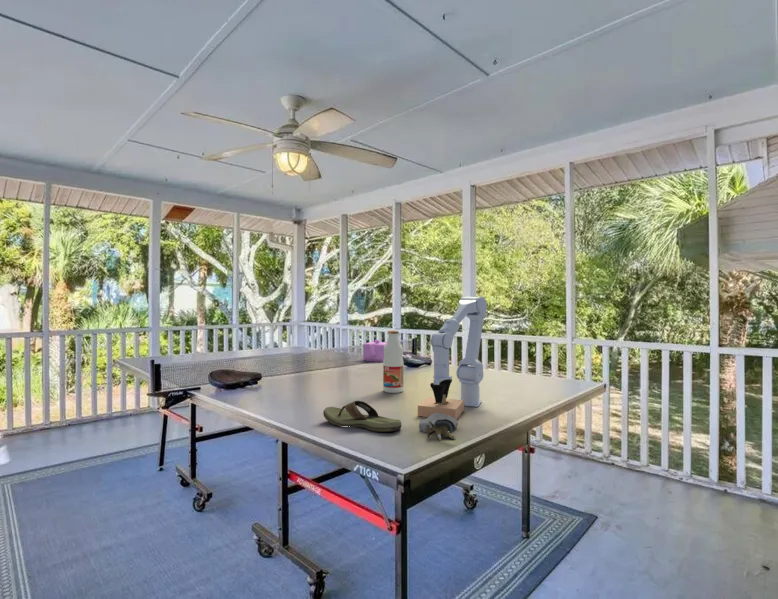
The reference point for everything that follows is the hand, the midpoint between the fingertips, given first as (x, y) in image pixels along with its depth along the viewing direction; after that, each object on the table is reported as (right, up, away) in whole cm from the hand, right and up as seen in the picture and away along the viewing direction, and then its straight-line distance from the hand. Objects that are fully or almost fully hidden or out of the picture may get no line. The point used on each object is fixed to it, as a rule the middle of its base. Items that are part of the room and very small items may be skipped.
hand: (441, 400), depth 165 cm
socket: (0, -5, 0) cm, 5 cm away
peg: (0, -5, 0) cm, 5 cm away
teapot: (-28, -4, +134) cm, 137 cm away
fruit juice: (-18, -5, +39) cm, 43 cm away
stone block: (-3, -6, -19) cm, 20 cm away
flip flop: (-29, -6, -15) cm, 33 cm away
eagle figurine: (-4, -6, -29) cm, 29 cm away
